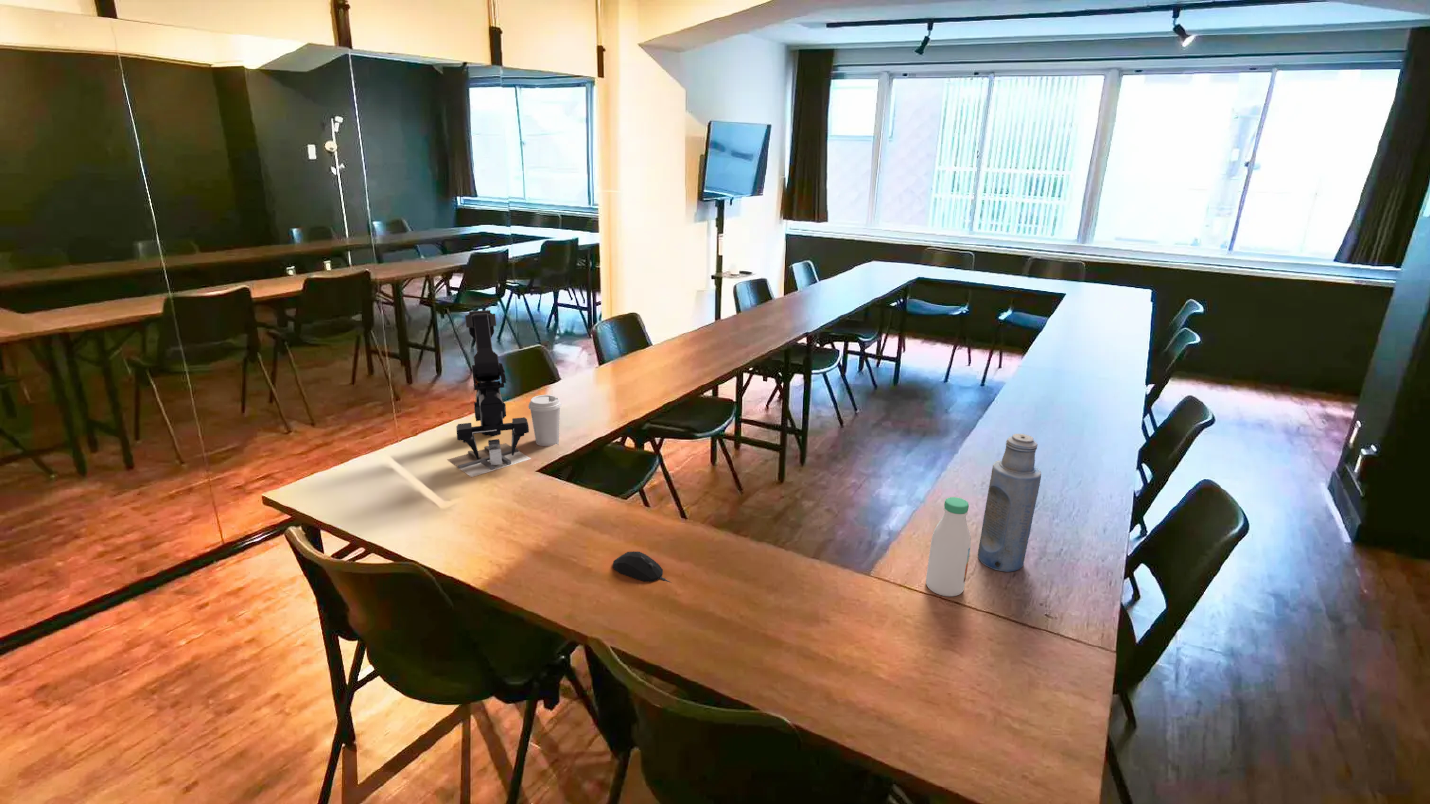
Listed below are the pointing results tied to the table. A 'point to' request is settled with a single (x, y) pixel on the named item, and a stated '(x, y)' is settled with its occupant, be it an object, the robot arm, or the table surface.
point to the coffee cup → (545, 419)
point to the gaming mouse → (638, 567)
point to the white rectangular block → (495, 452)
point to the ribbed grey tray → (487, 460)
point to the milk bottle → (950, 550)
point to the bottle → (1010, 506)
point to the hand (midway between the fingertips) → (495, 457)
